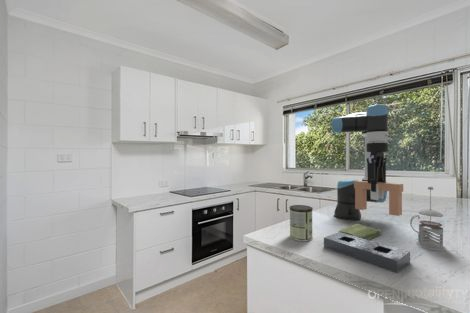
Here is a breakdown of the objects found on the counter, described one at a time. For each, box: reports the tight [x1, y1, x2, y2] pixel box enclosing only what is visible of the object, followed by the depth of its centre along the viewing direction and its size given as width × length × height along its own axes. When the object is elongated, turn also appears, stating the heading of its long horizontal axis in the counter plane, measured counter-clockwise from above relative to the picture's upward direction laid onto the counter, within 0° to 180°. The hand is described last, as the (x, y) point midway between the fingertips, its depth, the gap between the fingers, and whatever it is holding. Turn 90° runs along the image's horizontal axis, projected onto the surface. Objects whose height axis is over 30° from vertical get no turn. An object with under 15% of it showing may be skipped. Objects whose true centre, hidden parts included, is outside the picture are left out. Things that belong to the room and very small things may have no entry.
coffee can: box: [289, 204, 314, 242], centre depth 106 cm, size 10×10×14 cm
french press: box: [409, 186, 447, 252], centre depth 96 cm, size 10×12×25 cm
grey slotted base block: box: [323, 231, 411, 274], centre depth 87 cm, size 26×12×4 cm, turn 36°
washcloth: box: [337, 223, 381, 240], centre depth 110 cm, size 13×18×3 cm
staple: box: [354, 180, 404, 217], centre depth 94 cm, size 17×4×12 cm, turn 37°
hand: (377, 198), depth 94 cm, fingers closed on staple, 4 cm apart
